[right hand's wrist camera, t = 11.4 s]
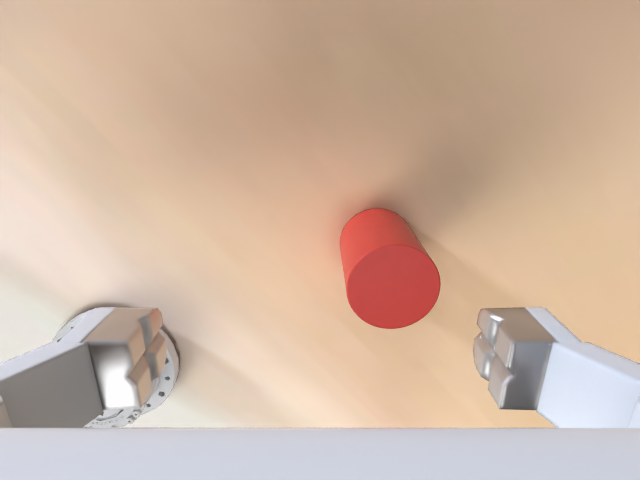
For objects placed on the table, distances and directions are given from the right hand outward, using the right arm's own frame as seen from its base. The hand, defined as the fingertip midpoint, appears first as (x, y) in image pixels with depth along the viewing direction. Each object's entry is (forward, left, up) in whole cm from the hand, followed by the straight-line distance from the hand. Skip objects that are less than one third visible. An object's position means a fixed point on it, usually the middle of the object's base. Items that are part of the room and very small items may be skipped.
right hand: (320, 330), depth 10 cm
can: (-1, +6, -20) cm, 21 cm away
